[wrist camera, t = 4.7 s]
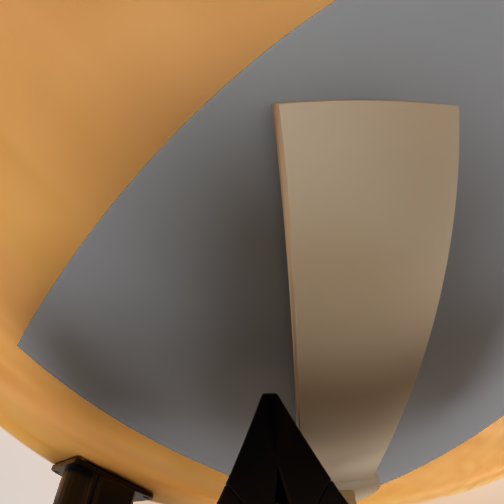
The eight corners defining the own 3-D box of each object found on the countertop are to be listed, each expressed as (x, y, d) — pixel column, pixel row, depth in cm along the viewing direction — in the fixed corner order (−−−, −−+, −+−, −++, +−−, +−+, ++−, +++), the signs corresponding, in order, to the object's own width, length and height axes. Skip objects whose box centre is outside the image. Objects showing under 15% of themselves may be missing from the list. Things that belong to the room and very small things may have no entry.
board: (325, 498, 17) (326, 504, 17) (22, 337, 10) (17, 345, 10) (603, 308, 10) (606, 312, 10) (499, -74, 3) (507, -77, 2)
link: (364, 467, 14) (372, 511, 11) (284, 478, 14) (286, 524, 11) (429, 101, 6) (513, 115, 3) (237, 106, 6) (225, 111, 4)
